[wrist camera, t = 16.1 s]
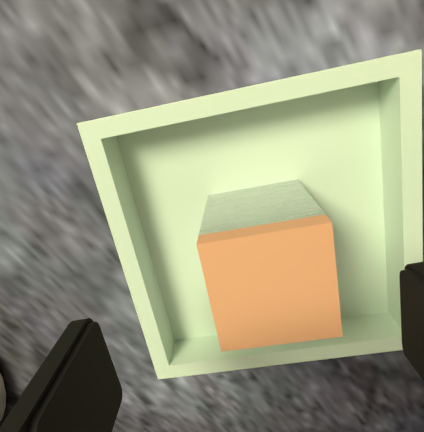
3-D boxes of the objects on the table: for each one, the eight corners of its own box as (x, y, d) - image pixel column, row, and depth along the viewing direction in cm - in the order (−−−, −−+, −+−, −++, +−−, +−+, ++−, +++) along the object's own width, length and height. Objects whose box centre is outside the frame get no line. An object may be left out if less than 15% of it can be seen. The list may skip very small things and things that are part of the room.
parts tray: (166, 347, 21) (157, 379, 18) (98, 119, 16) (76, 123, 14) (399, 316, 19) (423, 347, 17) (391, 56, 15) (421, 48, 13)
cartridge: (224, 272, 18) (221, 351, 13) (207, 195, 17) (196, 244, 11) (307, 260, 18) (342, 336, 12) (297, 178, 16) (332, 222, 11)
